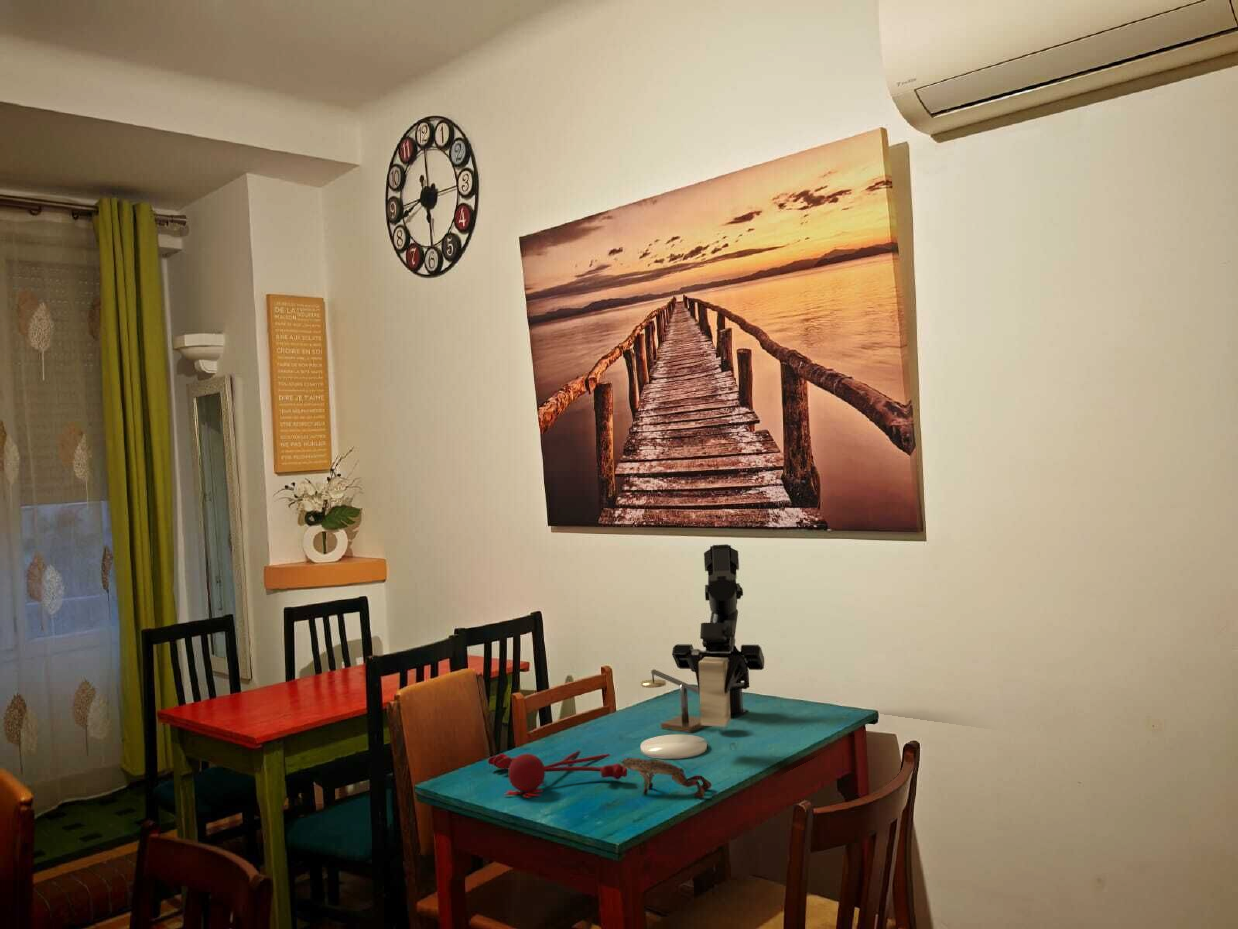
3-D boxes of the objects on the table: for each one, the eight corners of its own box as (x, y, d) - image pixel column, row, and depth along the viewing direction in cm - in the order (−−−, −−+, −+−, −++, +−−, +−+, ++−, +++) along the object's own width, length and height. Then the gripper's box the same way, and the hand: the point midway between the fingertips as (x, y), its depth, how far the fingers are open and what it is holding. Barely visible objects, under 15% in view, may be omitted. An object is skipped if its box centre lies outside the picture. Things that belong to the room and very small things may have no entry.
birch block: (707, 718, 215) (705, 656, 214) (730, 720, 213) (728, 657, 213) (700, 725, 210) (698, 662, 210) (724, 726, 208) (722, 663, 208)
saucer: (667, 737, 227) (667, 731, 227) (719, 745, 218) (719, 739, 218) (627, 753, 217) (627, 747, 217) (680, 762, 208) (680, 756, 208)
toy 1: (533, 765, 225) (450, 789, 199) (534, 730, 226) (451, 749, 200) (664, 780, 210) (593, 807, 184) (665, 742, 211) (594, 764, 185)
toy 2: (686, 819, 192) (621, 763, 196) (714, 782, 190) (648, 727, 194) (678, 830, 186) (611, 773, 190) (707, 792, 185) (639, 735, 188)
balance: (656, 716, 246) (652, 665, 246) (738, 728, 231) (734, 673, 231) (635, 724, 240) (632, 672, 240) (718, 737, 225) (714, 681, 225)
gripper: (671, 606, 218) (659, 669, 208) (758, 606, 212) (750, 671, 201) (683, 636, 225) (672, 699, 215) (767, 636, 219) (760, 701, 209)
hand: (712, 692), depth 210 cm, fingers closed on birch block, 5 cm apart
